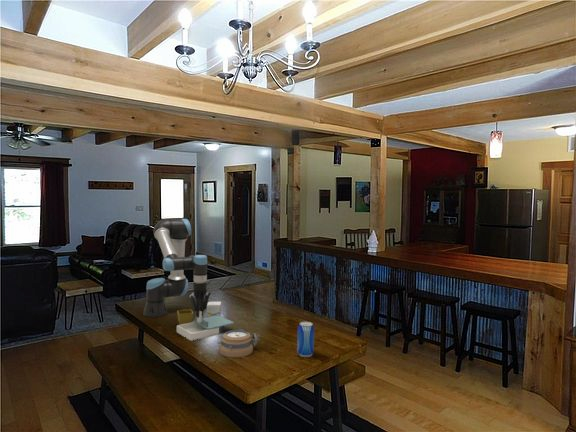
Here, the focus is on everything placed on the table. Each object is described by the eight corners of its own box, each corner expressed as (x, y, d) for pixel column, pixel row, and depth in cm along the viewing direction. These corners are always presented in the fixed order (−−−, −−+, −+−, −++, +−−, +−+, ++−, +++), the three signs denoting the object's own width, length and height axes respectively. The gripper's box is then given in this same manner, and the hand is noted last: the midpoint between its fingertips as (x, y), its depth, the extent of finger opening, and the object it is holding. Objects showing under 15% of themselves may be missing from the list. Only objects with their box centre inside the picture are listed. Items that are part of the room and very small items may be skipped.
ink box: (220, 323, 243) (220, 304, 243) (206, 323, 242) (206, 304, 242) (221, 319, 252) (221, 301, 251) (207, 319, 251) (208, 301, 250)
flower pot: (176, 324, 238) (176, 310, 238) (191, 323, 242) (191, 309, 241) (178, 329, 230) (178, 314, 230) (193, 327, 233) (193, 312, 233)
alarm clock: (213, 333, 198) (246, 323, 216) (212, 351, 199) (246, 339, 216) (234, 342, 187) (268, 330, 204) (234, 360, 187) (267, 348, 205)
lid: (193, 321, 231) (193, 315, 231) (218, 316, 243) (218, 310, 243) (208, 329, 218) (208, 323, 218) (234, 323, 230) (234, 317, 230)
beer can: (296, 351, 201) (297, 321, 200) (312, 351, 201) (313, 321, 201) (298, 358, 192) (298, 326, 192) (314, 357, 193) (315, 326, 192)
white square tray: (176, 332, 225) (176, 325, 225) (203, 326, 236) (203, 319, 236) (191, 341, 211) (191, 333, 211) (219, 334, 223) (219, 327, 223)
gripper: (192, 284, 216) (192, 325, 217) (213, 281, 225) (212, 321, 226) (186, 282, 222) (186, 322, 223) (206, 279, 230) (206, 318, 231)
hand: (199, 322), depth 224 cm, fingers closed
